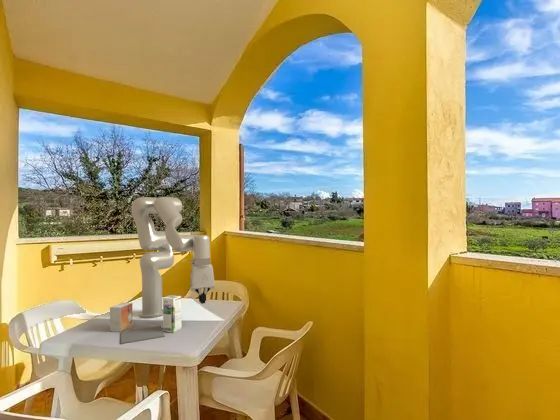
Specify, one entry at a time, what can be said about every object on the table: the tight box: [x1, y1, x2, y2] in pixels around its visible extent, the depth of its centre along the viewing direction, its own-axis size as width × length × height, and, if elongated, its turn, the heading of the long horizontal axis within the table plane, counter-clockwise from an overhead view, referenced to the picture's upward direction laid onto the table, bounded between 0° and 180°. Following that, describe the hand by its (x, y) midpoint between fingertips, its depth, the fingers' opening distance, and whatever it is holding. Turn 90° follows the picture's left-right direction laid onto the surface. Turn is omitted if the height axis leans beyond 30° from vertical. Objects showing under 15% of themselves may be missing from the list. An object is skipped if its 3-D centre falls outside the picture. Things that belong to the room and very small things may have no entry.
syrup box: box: [162, 294, 182, 333], centre depth 140 cm, size 6×6×14 cm
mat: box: [120, 325, 165, 345], centre depth 134 cm, size 14×16×1 cm
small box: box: [109, 302, 133, 333], centre depth 142 cm, size 8×6×10 cm
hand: (202, 302), depth 145 cm, fingers closed
